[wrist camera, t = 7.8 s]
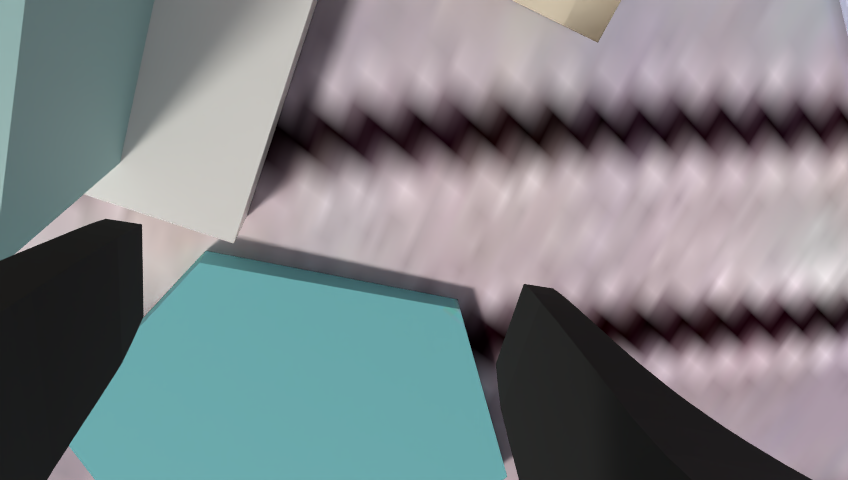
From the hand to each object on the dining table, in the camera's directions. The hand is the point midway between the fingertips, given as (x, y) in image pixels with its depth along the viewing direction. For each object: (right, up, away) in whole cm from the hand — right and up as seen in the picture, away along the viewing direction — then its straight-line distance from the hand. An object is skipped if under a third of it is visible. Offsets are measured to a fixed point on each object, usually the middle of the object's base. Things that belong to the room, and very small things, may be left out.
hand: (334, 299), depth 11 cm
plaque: (-4, -7, +16) cm, 18 cm away
